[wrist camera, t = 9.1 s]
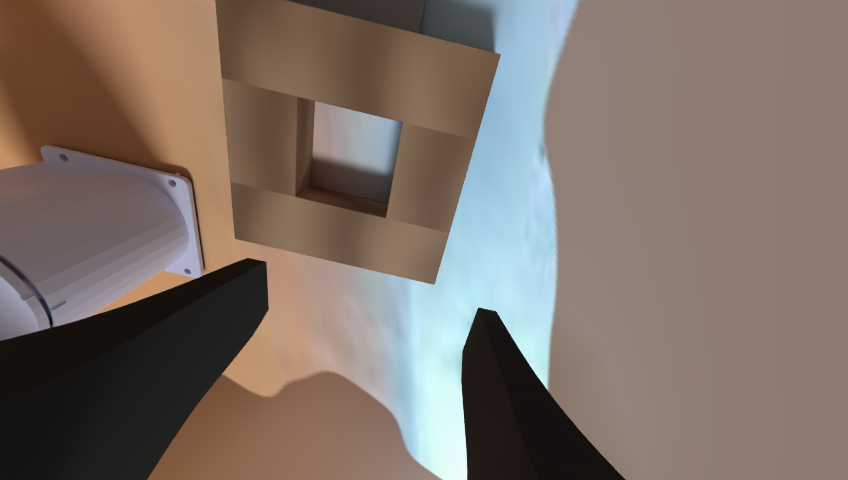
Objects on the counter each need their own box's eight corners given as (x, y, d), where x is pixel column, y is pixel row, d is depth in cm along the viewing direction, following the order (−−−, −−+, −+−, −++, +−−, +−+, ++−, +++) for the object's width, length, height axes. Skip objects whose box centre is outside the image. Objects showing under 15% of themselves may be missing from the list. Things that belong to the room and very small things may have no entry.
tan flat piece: (255, 224, 21) (234, 238, 19) (244, -5, 15) (214, -18, 13) (435, 266, 22) (434, 284, 20) (494, 58, 16) (500, 54, 14)
